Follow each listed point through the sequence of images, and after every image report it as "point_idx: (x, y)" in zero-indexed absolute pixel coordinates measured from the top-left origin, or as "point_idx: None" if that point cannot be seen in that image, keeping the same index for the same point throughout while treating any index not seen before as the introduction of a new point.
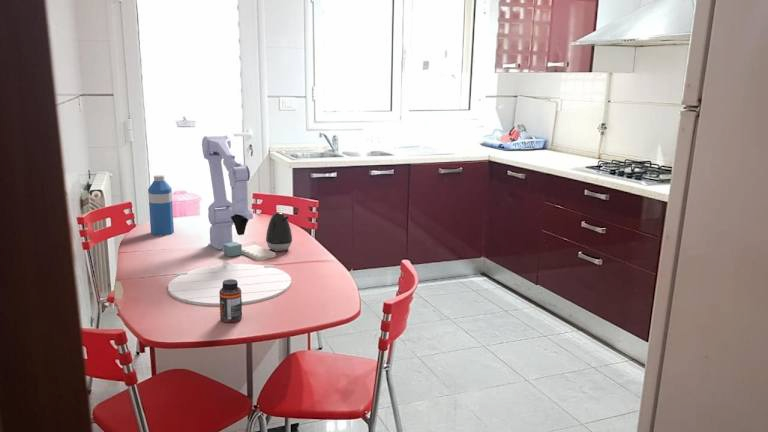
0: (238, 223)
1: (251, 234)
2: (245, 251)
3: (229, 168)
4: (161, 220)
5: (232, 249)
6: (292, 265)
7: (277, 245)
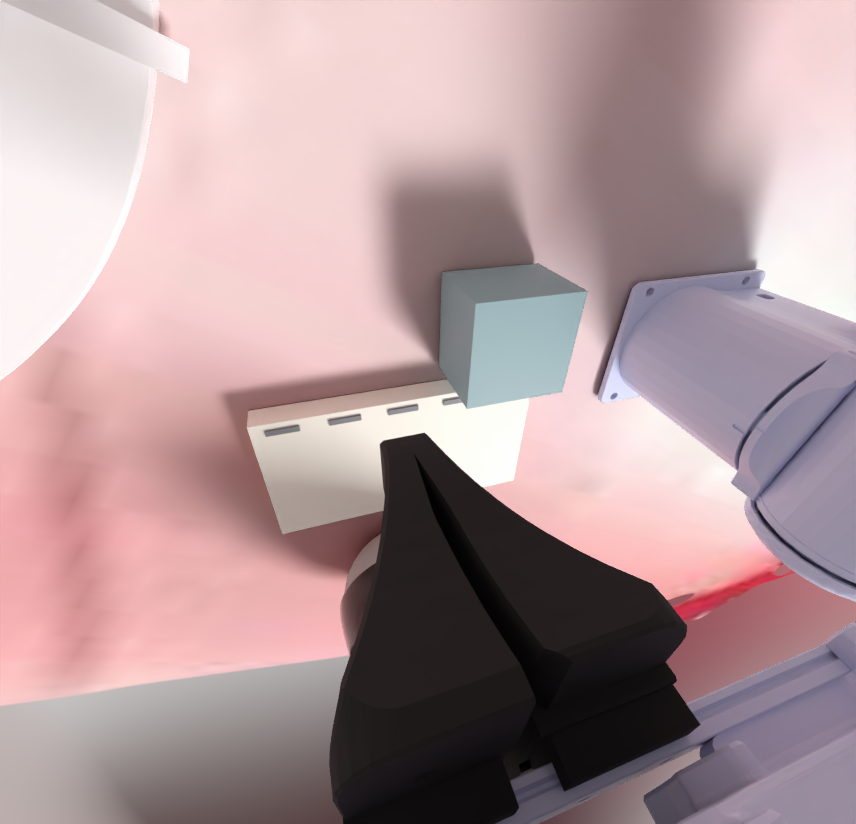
0: (367, 602)
1: (675, 500)
2: (430, 399)
3: None
4: None
5: (461, 318)
6: (10, 556)
7: (357, 572)
